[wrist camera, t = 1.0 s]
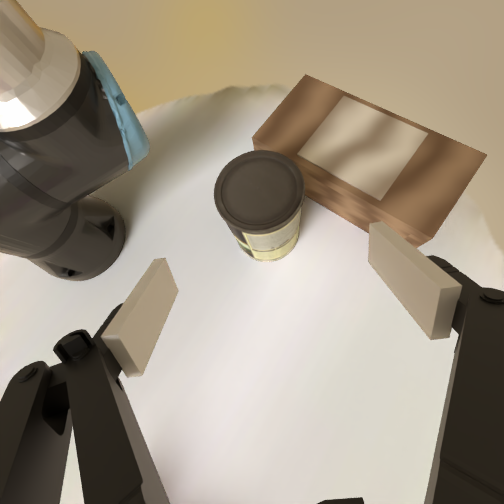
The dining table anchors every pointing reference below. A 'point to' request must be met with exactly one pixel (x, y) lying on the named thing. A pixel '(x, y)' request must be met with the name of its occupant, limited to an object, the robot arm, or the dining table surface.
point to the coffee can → (261, 203)
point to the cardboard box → (369, 160)
